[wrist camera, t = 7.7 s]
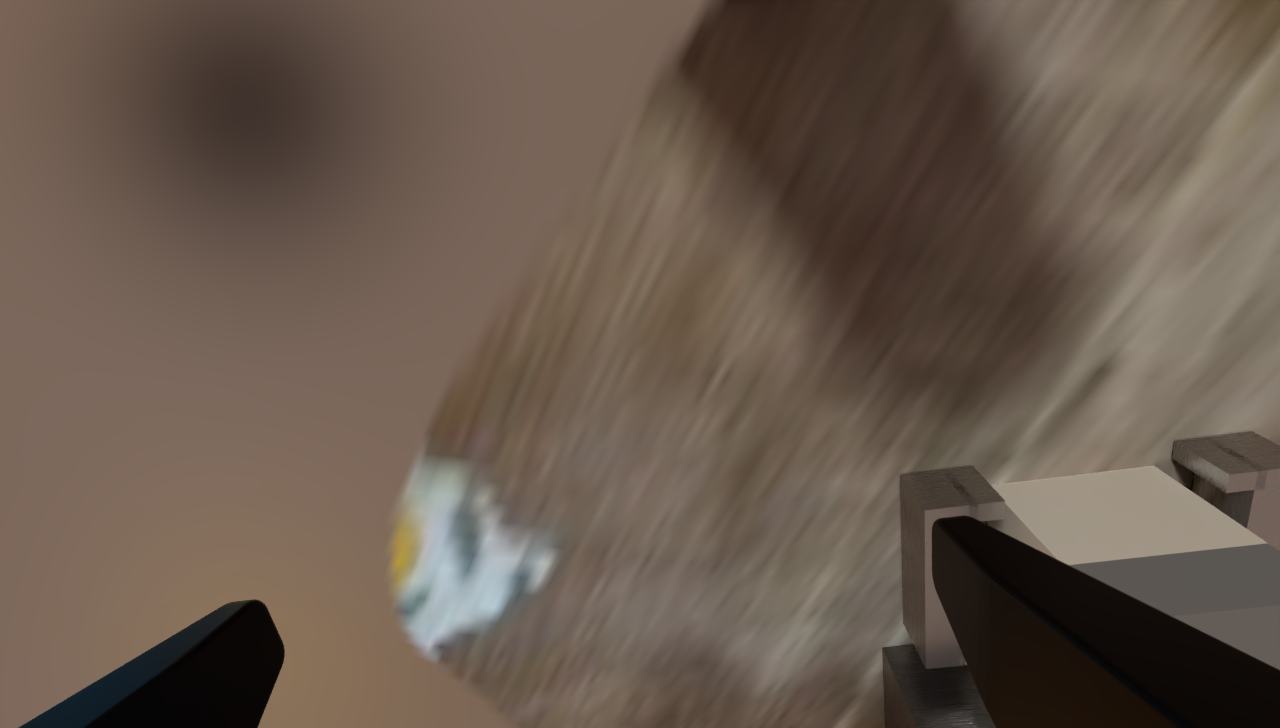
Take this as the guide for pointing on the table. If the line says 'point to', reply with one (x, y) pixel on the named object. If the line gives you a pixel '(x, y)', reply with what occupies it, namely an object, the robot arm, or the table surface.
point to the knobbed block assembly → (934, 666)
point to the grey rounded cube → (1156, 549)
